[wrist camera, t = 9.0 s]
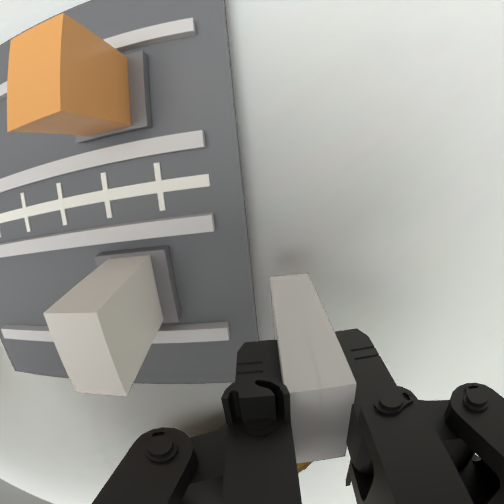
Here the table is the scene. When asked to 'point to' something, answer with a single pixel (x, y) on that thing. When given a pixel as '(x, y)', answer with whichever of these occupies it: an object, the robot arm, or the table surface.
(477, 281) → the table surface
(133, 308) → the fader
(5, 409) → the table surface
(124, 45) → the console
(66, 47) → the fader
